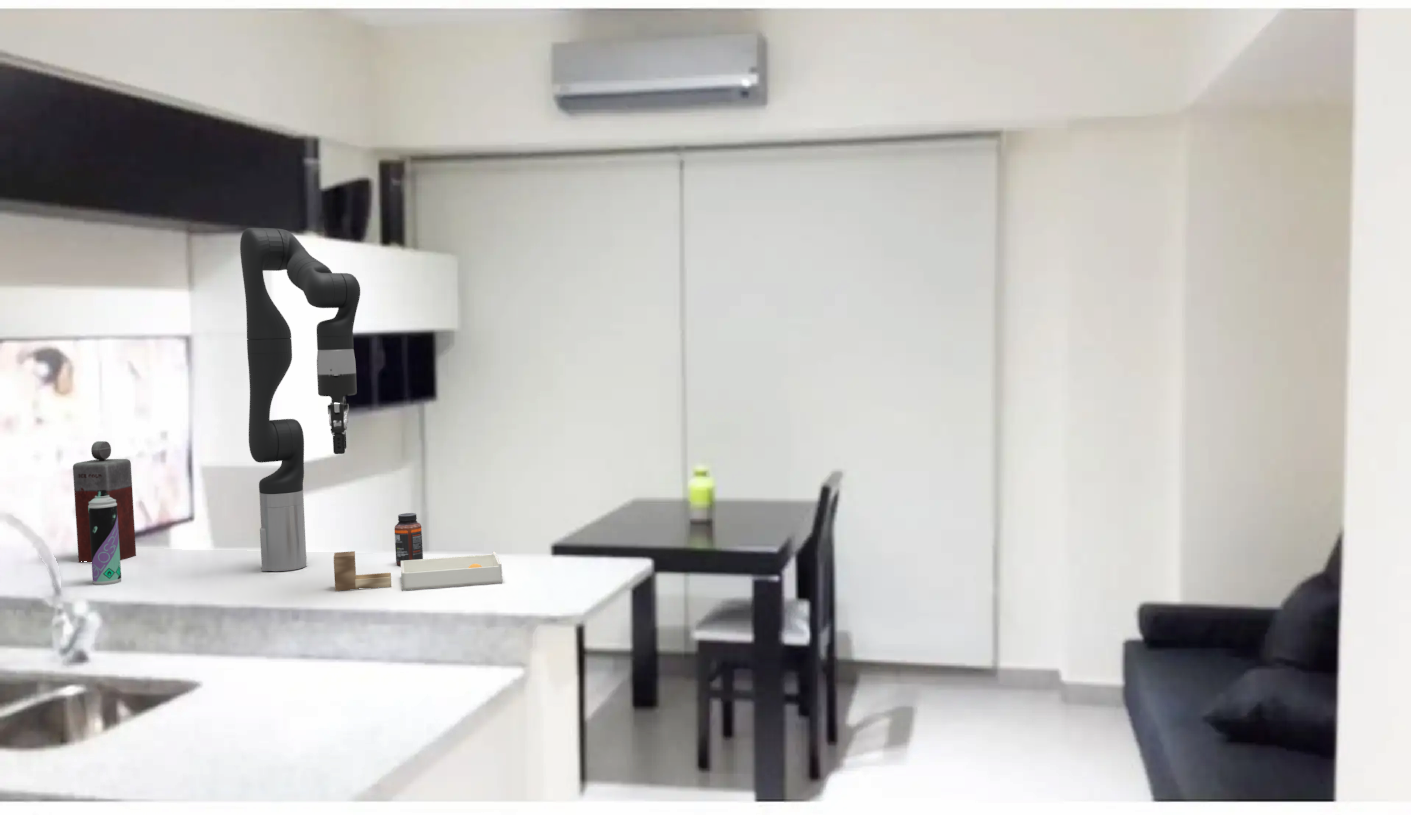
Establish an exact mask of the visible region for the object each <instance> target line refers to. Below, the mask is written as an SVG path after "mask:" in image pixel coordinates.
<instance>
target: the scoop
mask: <svg viewBox="0 0 1411 815" xmlns="http://www.w3.org/2000/svg"><path fill="white" fill-rule="evenodd" d="M356 569H357V567H356V551H352V550H351V551H339V552H334V554H333V572H334V574H333V575H334V591H335V592H340V590H344V591H351V590H350V589H358V590H360V589H359V588H371V589H379V588H378V587H384V588H392V575H391V574H392V572H382V573H381V572H380V573H379V572H378V573H368V574H367V573H364V574H357V573H356V572H357V570H356Z"/></svg>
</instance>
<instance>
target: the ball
mask: <svg viewBox="0 0 1411 815" xmlns="http://www.w3.org/2000/svg"><path fill="white" fill-rule="evenodd" d="M478 567H482V566H481V565H479V564H472V565H470V566H469V567H468V568H478Z"/></svg>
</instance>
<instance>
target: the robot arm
mask: <svg viewBox="0 0 1411 815" xmlns="http://www.w3.org/2000/svg"><path fill="white" fill-rule="evenodd" d="M239 251H240V252H239V253H240V264H241V271H242V278H243V286H244V287H243V288H244V295H245V309H246V350H247V366H248V379H249V413H248V446H249V452H250V455H251V457H252V459H253V460H254V461H255V462H256V463H261V464H262V463H273V462H274V463H275V462H281V464H280V466H279V467H278V469H277V470H276V471H274V472H272V473H271V474H269V475H267V476H264V477H263V478H262V479H260V480H259V482H258V492H259V512H260V513H259V514H260V515H259V516H260V528H259V537H260V540H259V541H260V558H261V572H283V571H284V572H287V571H293V570H300V569H303V568H305V567H307V566H308V565H307V546H306V543H307V542H306V526H305V522H306V521H305V502H304V499H305V498H304V477H305V465H304V464H305V456H304V455H305V454H304V453H305V439H304V438H305V437H304V431H303V428H302V425H301V423H300V421H298V420H297V419H295V418H283V419H282V418H281V419H270V415H271V414H270V413H271V406H272V402H273V398H274V395H275V394H276V392H277V390H278V388H279V386H280V384H281V383H282V381H283V379H284V378H285V376H286V374H287V372H288V370H289V369H290V366H291V363H292V362H293V361H292V360H293V349H292V347H293V346H292V345H293V344H292V332H291V331H292V330H291V328H290V326H289V323H288V322H287V321H286V319H285V316H283V314H282V313H281V311H280V310H279V308H278V307H277V306H276V304H275V303H274V302H273V300H272V298H271V296H270V294H269V292H268V290H267V287H266V283H265V278H264V271H266V272H267V271H268V272H270V271H271V272H272V271H273V272H274V271H278V272H279V271H286V275H287V277H288V280H289V281H290V282H291V284H292V285H294V286H295V287H296V288H298V289H299V290H301V291H302V293H303V294H304V296H305V298H306V301H307V303H308V304H309V305H310V306H313V307H315V308H319V309H337V312H336V314H335V316H334V317H333V318H330V319H326V320H322V321H320V322H318V324H317V325H316V348H317V354H316V375H317V376H316V377H317V393H318V396H320V397H329V398H331V402H330V403H329V404H327V414H328V422H329V426H330V433H331V436H332V445H333V446H332V447H333V448H332V449H333V454H335V455H343V454H345V453H346V449H347V432H346V431H347V430H348V427H347V426H348V423H349V413H350V408H349V407H350V406H349V403H347V400H346V398H345V397H346V396H347V397H348V396H349V397H350V396H355V395H357V393H358V392H357V390H358V388H357V368H356V367H357V366H356V358H355V350H354V324H355V319H356V314H357V309H358V306H359V302H360V298H361V297H360V296H361V286H360V283H359V281H358V280H357V278H356V276H354V275H353V274H351V273H347V272H333V271H331V269H330V268H329V267H328V266H327V265H326V264H324V263H323V262H321V261H320V260H318V259H316V258H315V257H313V255H311V253H309V252H308V250H307V249H306V248H305V247H304V246H303V244H302V243H301V242H300V241H299V240H298V238H296V236H295V235H294V234H292V232H290V231H289V230H286V229H282V228H272V227H271V228H269V227H248V228H245V229H244V230H243V232H242V234H241V236H240V245H239Z"/></svg>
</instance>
